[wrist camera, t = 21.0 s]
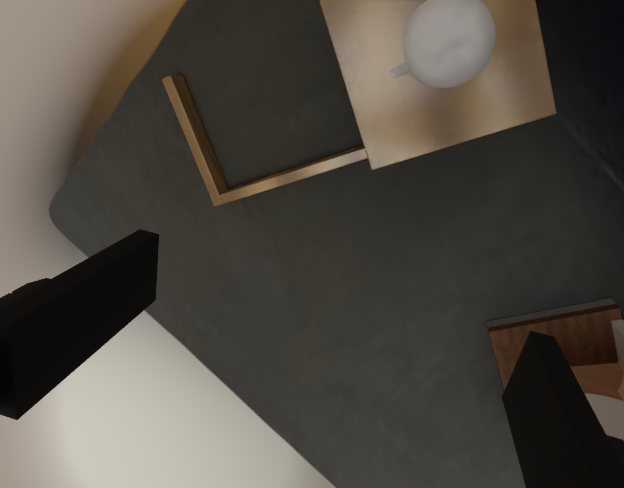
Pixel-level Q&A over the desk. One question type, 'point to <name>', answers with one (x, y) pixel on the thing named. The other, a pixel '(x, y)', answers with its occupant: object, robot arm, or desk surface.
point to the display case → (575, 351)
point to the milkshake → (447, 42)
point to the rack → (402, 92)
